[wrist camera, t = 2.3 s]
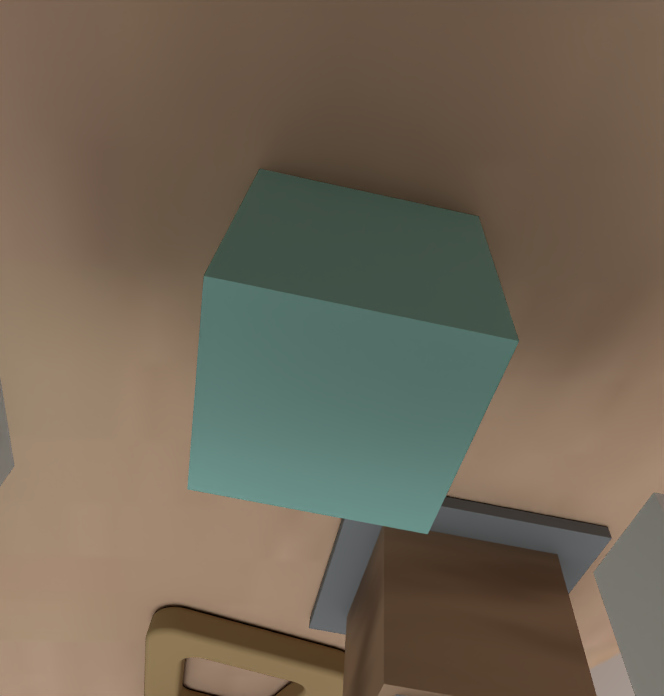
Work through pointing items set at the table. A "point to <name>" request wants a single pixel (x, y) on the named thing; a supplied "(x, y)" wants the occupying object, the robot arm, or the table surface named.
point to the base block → (462, 621)
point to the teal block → (345, 352)
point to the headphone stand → (235, 654)
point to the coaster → (461, 520)
